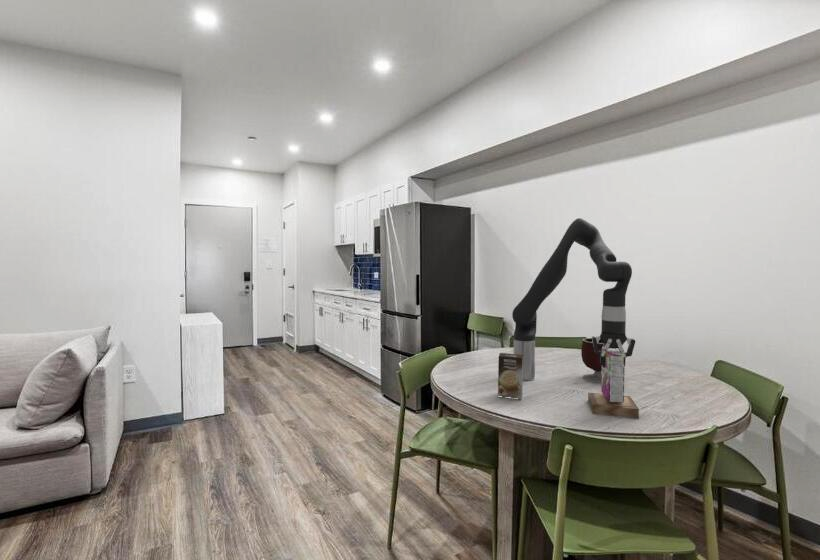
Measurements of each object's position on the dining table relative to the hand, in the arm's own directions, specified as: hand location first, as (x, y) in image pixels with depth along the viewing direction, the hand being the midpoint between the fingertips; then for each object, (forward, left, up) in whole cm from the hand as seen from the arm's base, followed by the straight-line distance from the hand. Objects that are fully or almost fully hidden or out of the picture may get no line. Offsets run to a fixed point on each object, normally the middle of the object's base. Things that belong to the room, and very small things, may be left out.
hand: (612, 366), depth 144 cm
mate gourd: (+1, +39, -15) cm, 42 cm away
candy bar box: (0, 0, -11) cm, 11 cm away
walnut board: (0, 0, -15) cm, 15 cm away
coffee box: (-35, +3, -15) cm, 38 cm away
